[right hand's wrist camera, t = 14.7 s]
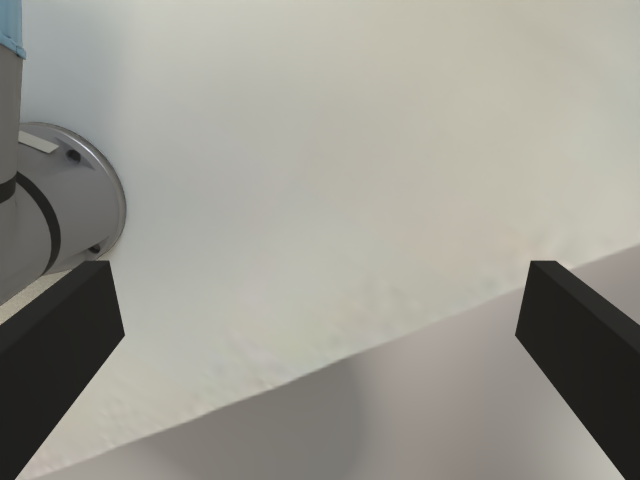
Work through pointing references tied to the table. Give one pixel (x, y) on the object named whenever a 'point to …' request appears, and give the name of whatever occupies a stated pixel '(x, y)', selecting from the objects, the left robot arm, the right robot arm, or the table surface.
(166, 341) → the table surface
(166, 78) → the table surface
